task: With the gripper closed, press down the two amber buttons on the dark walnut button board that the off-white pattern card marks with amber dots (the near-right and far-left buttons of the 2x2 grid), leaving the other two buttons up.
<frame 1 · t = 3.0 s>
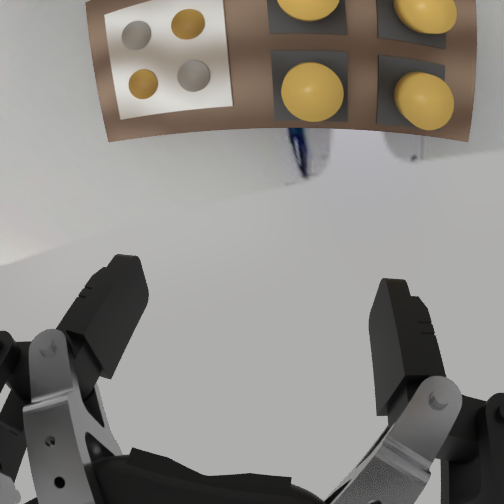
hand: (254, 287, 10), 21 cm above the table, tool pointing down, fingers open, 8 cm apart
button D: (424, 99, 18), point 6 cm above the table, slide at 0.0 cm
button B: (311, 90, 19), point 6 cm above the table, slide at 0.0 cm
button board: (282, 42, 22), on the table
button C: (425, 7, 14), point 6 cm above the table, slide at 0.0 cm
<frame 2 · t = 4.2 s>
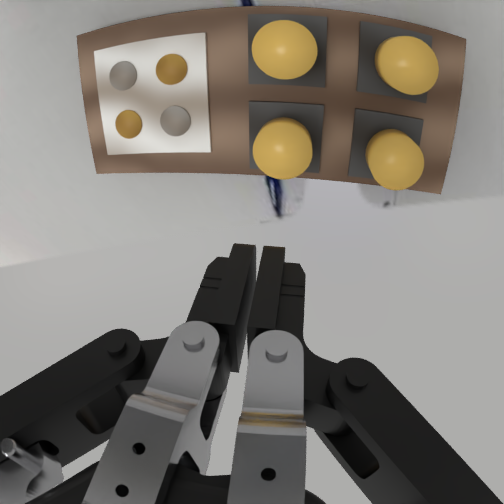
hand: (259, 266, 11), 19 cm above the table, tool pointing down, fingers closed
button D: (394, 159, 21), point 6 cm above the table, slide at 0.0 cm
button B: (283, 147, 22), point 6 cm above the table, slide at 0.0 cm
button board: (264, 87, 24), on the table
button C: (406, 64, 16), point 6 cm above the table, slide at 0.0 cm
button A: (285, 49, 17), point 6 cm above the table, slide at 0.0 cm
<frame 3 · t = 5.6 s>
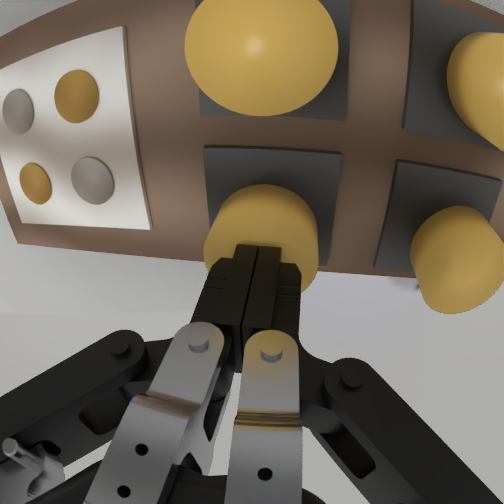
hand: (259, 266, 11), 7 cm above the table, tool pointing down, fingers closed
button D: (459, 261, 11), point 6 cm above the table, slide at 0.0 cm
button B: (263, 245, 12), point 6 cm above the table, slide at 0.0 cm, touching gripper
button board: (236, 113, 15), on the table
button A: (263, 45, 8), point 6 cm above the table, slide at 0.0 cm
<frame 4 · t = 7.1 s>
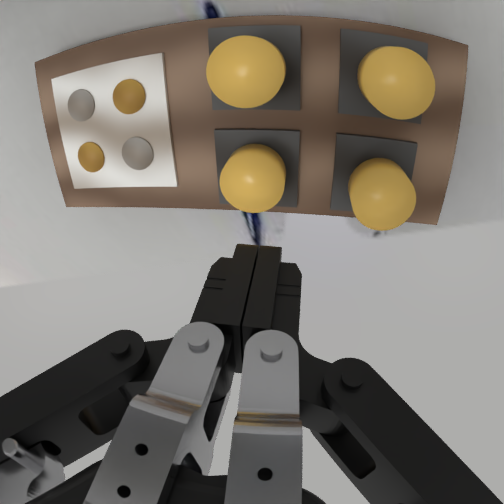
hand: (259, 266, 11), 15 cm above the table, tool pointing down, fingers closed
button D: (381, 194, 18), point 6 cm above the table, slide at 0.0 cm
button B: (253, 178, 20), point 5 cm above the table, slide at 1.1 cm
button board: (235, 109, 22), on the table
button C: (395, 81, 14), point 6 cm above the table, slide at 0.0 cm
button A: (247, 70, 15), point 6 cm above the table, slide at 0.0 cm
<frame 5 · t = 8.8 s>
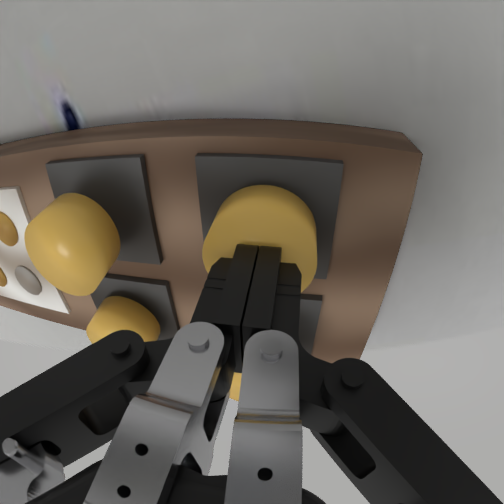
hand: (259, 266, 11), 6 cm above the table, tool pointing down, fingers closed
button D: (258, 371, 15), point 6 cm above the table, slide at 0.0 cm
button B: (123, 332, 17), point 5 cm above the table, slide at 1.1 cm
button board: (114, 233, 19), on the table
button C: (262, 245, 12), point 5 cm above the table, slide at 1.0 cm, touching gripper
button A: (71, 245, 12), point 6 cm above the table, slide at 0.0 cm
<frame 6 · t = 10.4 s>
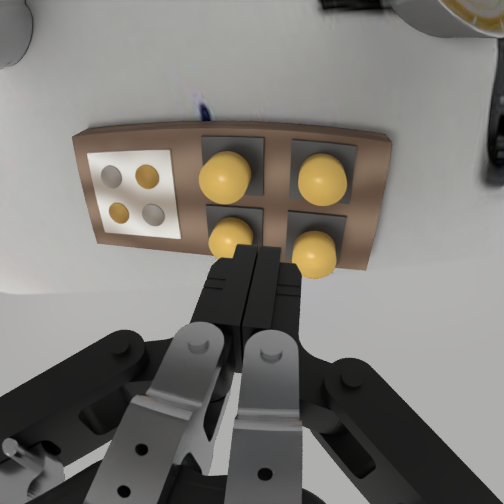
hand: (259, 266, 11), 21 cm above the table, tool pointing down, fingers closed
button D: (314, 255, 29), point 6 cm above the table, slide at 0.0 cm
button B: (231, 240, 31), point 5 cm above the table, slide at 1.1 cm
button board: (221, 185, 33), on the table
button C: (322, 179, 26), point 5 cm above the table, slide at 1.1 cm
button A: (225, 177, 26), point 6 cm above the table, slide at 0.0 cm
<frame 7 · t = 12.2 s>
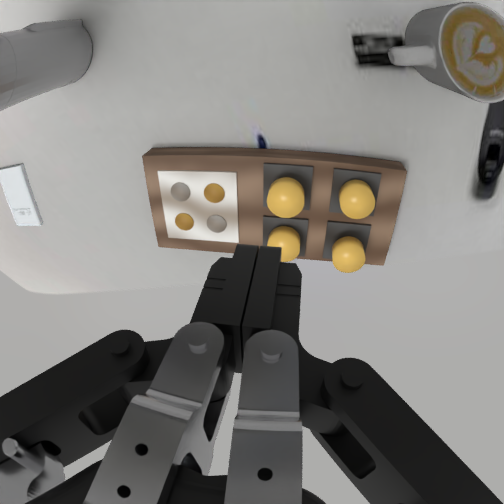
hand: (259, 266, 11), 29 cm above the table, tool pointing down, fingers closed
button D: (348, 254, 38), point 6 cm above the table, slide at 0.0 cm
coffee mug: (429, 45, 26), on the table
button B: (283, 244, 40), point 5 cm above the table, slide at 1.1 cm
button board: (272, 199, 42), on the table
button C: (356, 199, 35), point 5 cm above the table, slide at 1.1 cm
external hard drive: (22, 193, 48), on the table
button A: (286, 197, 35), point 6 cm above the table, slide at 0.0 cm
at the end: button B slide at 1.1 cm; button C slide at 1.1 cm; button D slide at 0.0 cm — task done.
